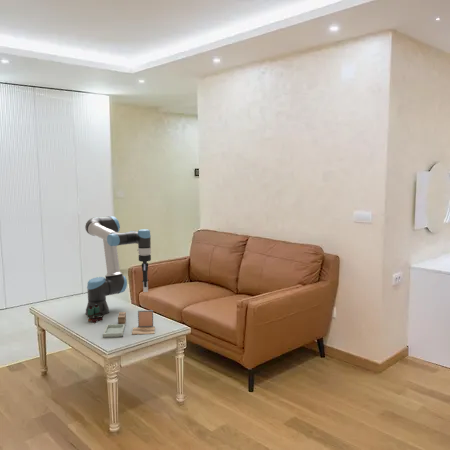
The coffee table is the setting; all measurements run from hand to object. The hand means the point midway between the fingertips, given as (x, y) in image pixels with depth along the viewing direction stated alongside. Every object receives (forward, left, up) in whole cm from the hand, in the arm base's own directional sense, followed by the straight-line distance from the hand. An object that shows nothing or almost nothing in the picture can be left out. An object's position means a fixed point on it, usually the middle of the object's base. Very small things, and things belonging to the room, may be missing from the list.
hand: (145, 291), depth 274 cm
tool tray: (+14, -18, -20) cm, 31 cm away
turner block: (-1, -15, -21) cm, 25 cm away
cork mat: (+14, -1, -20) cm, 25 cm away
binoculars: (-9, -32, -21) cm, 39 cm away
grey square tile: (+6, 0, -20) cm, 21 cm away
